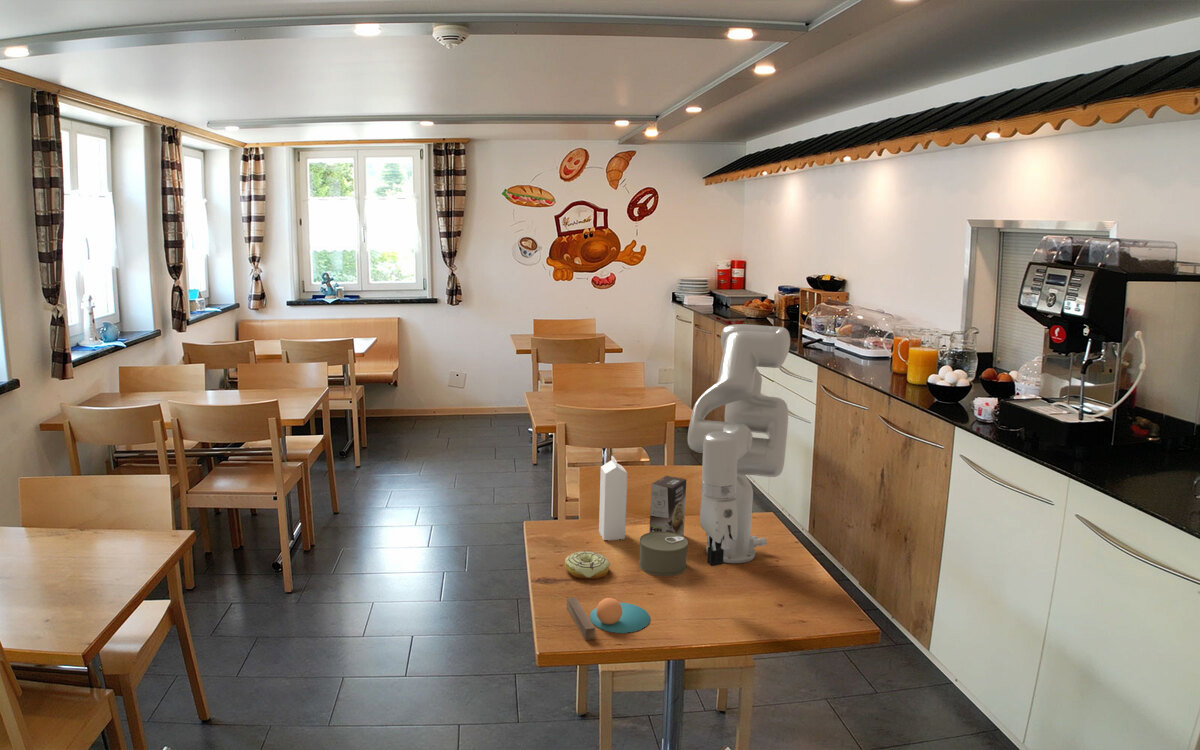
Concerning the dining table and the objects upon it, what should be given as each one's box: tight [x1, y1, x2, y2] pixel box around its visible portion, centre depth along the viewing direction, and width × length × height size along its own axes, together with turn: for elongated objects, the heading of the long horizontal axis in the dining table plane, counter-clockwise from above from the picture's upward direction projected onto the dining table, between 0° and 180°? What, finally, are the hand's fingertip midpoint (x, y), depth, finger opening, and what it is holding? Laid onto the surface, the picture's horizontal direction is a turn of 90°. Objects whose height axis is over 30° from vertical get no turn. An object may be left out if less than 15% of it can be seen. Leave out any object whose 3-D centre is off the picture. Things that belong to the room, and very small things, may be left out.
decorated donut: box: [564, 551, 611, 580], centre depth 197 cm, size 10×11×4 cm
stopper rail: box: [566, 596, 596, 641], centre depth 172 cm, size 2×14×2 cm, turn 18°
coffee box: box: [648, 475, 687, 537], centre depth 217 cm, size 9×6×16 cm
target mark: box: [589, 602, 651, 634], centre depth 175 cm, size 13×13×1 cm
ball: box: [596, 597, 622, 625], centre depth 172 cm, size 6×6×6 cm
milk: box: [598, 455, 628, 541], centre depth 217 cm, size 6×6×22 cm
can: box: [639, 531, 689, 577], centre depth 201 cm, size 12×12×7 cm
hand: (715, 563), depth 181 cm, fingers closed
